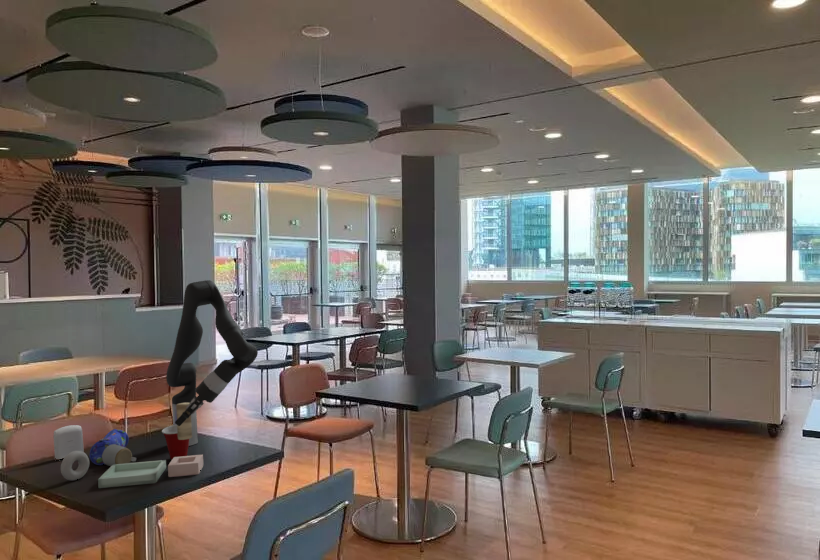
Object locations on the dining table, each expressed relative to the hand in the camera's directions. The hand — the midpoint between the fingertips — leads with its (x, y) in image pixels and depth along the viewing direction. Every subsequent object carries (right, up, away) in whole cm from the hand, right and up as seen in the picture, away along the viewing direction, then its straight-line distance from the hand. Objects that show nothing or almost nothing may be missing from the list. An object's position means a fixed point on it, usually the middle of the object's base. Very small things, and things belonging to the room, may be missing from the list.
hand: (178, 422), depth 216 cm
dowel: (+2, -6, 0) cm, 6 cm away
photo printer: (-52, -20, +24) cm, 61 cm away
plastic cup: (-6, -18, +16) cm, 25 cm away
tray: (-14, -18, -4) cm, 23 cm away
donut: (-34, -19, -4) cm, 39 cm away
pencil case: (-35, -19, +22) cm, 45 cm away
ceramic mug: (-26, -19, +11) cm, 34 cm away
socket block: (+3, -17, 0) cm, 18 cm away
